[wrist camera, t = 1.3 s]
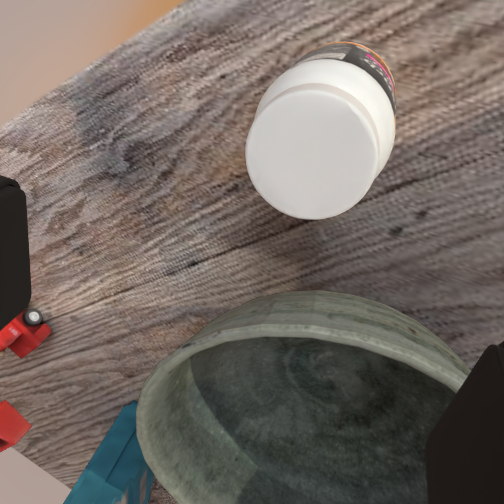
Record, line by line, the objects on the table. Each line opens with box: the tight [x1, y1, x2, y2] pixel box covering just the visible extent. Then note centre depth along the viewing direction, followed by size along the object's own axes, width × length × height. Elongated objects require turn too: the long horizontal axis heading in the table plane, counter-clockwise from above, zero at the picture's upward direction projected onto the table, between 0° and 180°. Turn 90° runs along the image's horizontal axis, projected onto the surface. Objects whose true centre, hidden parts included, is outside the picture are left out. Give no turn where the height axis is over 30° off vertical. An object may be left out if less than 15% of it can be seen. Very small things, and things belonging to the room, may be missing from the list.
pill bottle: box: [245, 42, 396, 220], centre depth 20 cm, size 6×6×10 cm
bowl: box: [136, 290, 471, 504], centre depth 29 cm, size 21×21×10 cm
